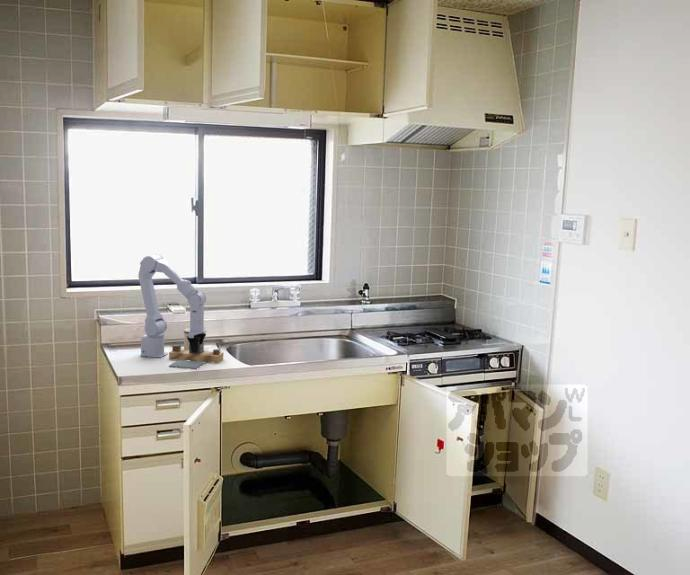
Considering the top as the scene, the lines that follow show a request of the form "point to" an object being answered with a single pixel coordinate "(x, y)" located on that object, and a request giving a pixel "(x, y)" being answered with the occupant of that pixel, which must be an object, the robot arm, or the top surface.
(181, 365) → the slate mat
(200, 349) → the lever cap
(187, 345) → the teacup with lid
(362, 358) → the top surface
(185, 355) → the hand plane
